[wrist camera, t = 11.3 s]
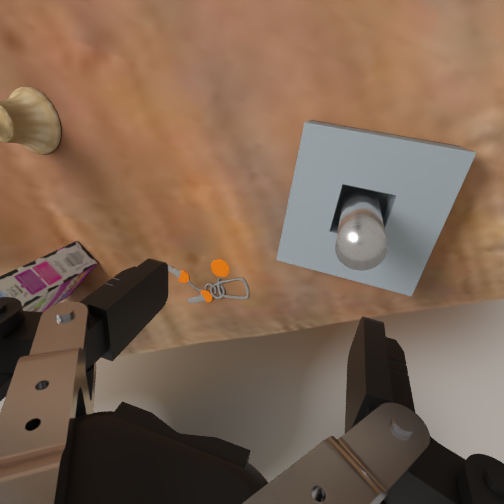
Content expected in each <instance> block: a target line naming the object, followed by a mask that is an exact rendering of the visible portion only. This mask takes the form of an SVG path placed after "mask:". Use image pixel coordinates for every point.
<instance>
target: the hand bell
mask: <svg viewBox="0 0 504 504" xmlns="http://www.w3.org/2000/svg"><path fill="white" fill-rule="evenodd" d="M60 138H61V125H60V120H59V117H58V114H57V111H56V110H55V108H54V106H53V104H52V103H51V102H50V100H49V99H48V98H47V97H46V96H45V95H44V94H43V93H41V92H40V91H39V90H37V89H35V88H32V87H20V88H18V89H16V90H15V91H13V92H12V93H11V95H10V96H9V98H8V99H7V100H4V101H0V142H4V143H18V144H22V145H23V146H25V147H26V148H27V149H29V150H31V151H33V152H35V153H38V154H48V153H51V152H53V151H54V150H55V149H56V148H57V146H58V144H59V142H60Z"/></svg>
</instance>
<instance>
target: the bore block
mask: <svg viewBox="0 0 504 504" xmlns="http://www.w3.org/2000/svg"><path fill="white" fill-rule="evenodd" d="M475 155H476V152H473V151H471V150H468V149H465V148H463V147H460V146H456V145H450V144H445V143H439V142H433V141H427V140H422V139H416V138H410V137H405V136H399V135H393V134H388V133H382V132H376V131H371V130H365V129H359V128H353V127H348V126H342V125H336V124H331V123H325V122H319V121H314V120H310V121H307V122H305V123H304V127H303V132H302V137H301V142H300V147H299V152H298V157H297V162H296V167H295V171H294V176H293V181H292V186H291V191H290V196H289V201H288V206H287V211H286V215H285V220H284V225H283V230H282V235H281V240H280V245H279V250H278V255H277V259H276V260H279V261H282V262H286V263H290V264H293V265H297V266H301V267H305V268H308V269H312V270H316V271H319V272H323V273H327V274H330V275H334V276H338V277H342V278H345V279H349V280H353V281H356V282H360V283H364V284H368V285H371V286H375V287H379V288H382V289H386V290H390V291H393V292H397V293H401V294H405V295H408V296H412V294H413V292H414V290H415V288H416V285H417V283H418V281H419V279H420V277H421V274H422V272H423V270H424V268H425V266H426V263H427V261H428V259H429V257H430V255H431V252H432V250H433V248H434V246H435V243H436V241H437V239H438V237H439V235H440V232H441V230H442V228H443V226H444V224H445V221H446V219H447V217H448V215H449V213H450V210H451V208H452V206H453V204H454V201H455V199H456V197H457V195H458V193H459V190H460V188H461V186H462V184H463V182H464V179H465V177H466V175H467V173H468V171H469V168H470V166H471V164H472V162H473V160H474V157H475ZM355 187H359V188H363V189H368V190H373V191H374V192H375V193H376V194H377V196H378V199H379V204H380V209H381V214H382V219H383V224H384V229H385V234H386V239H387V244H388V251H387V255H386V257H385V259H384V260H383V261H382V262H381V263H380V264H379V265H378V266H376V267H375V268H372V269H369V270H364V271H359V270H353V269H350V268H348V267H346V266H345V265H343V264H342V263H341V262H340V260H339V259H338V257H337V255H336V252H335V244H336V238H337V232H338V227H339V221H340V215H341V209H342V204H343V199H344V197H345V195H346V194H347V193H348V192H349V191H350V190H351V189H353V188H355Z"/></svg>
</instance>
